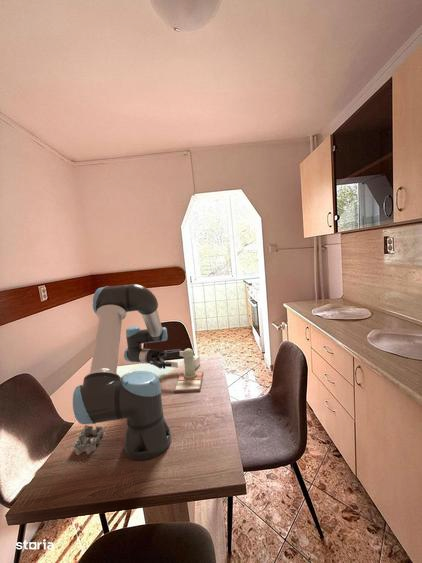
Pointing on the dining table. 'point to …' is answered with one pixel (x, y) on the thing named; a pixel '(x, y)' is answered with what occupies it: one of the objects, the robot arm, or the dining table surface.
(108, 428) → the dining table surface
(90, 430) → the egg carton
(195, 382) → the board
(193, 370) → the pawn
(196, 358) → the die
